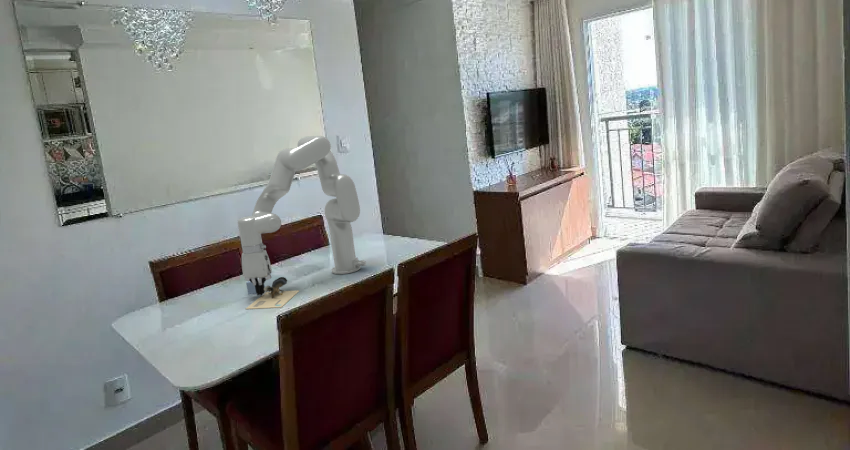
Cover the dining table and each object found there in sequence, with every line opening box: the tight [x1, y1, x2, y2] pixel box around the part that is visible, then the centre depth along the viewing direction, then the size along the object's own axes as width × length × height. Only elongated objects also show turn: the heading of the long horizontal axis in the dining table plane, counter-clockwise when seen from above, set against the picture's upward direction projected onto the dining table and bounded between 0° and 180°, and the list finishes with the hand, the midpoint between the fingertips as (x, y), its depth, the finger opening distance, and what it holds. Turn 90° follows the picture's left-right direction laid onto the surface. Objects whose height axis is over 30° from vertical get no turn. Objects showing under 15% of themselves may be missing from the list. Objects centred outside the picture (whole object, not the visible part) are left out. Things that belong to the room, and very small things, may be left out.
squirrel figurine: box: [264, 276, 288, 298], centre depth 212 cm, size 8×7×9 cm
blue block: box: [245, 278, 266, 295], centre depth 220 cm, size 5×5×5 cm
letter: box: [245, 289, 300, 310], centre depth 208 cm, size 14×18×1 cm
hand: (260, 294), depth 213 cm, fingers closed
